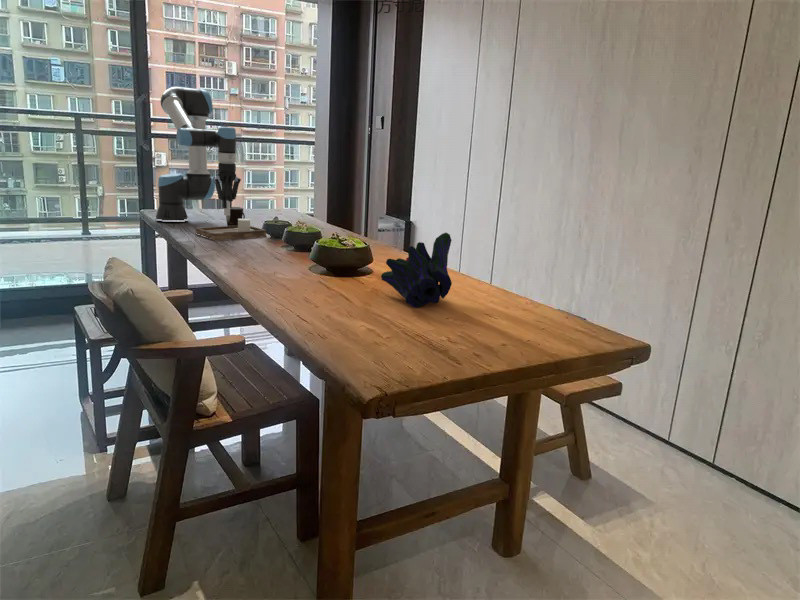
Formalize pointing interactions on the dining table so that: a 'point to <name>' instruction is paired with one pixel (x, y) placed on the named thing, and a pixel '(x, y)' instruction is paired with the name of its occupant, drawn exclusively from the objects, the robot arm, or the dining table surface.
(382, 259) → the dining table surface
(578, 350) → the dining table surface
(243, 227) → the block
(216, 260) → the dining table surface
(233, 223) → the coffee mug
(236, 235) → the tray
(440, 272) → the dark blue branching piece
